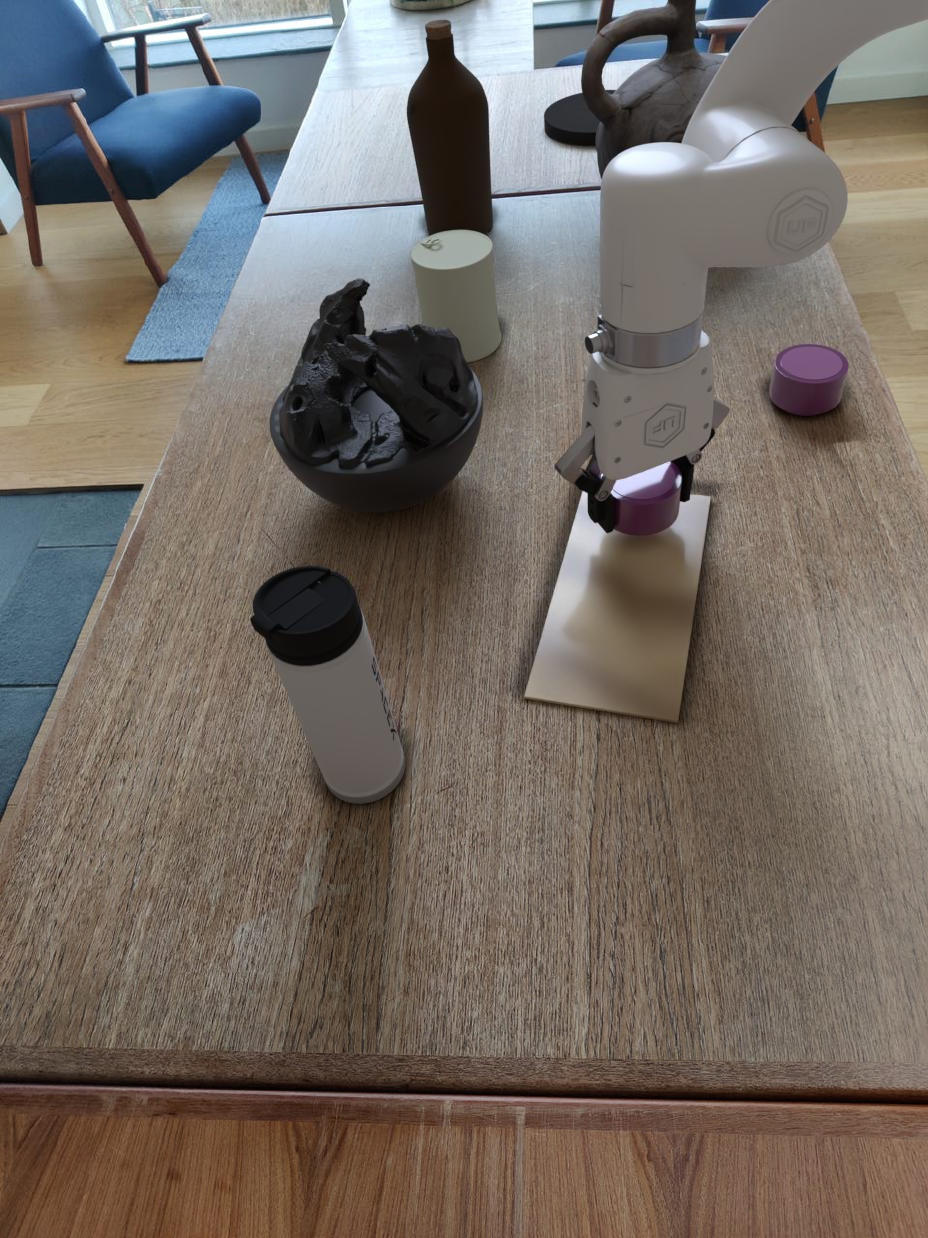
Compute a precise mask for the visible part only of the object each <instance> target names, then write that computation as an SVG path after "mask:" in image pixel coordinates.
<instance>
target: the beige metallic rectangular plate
mask: <svg viewBox="0 0 928 1238" xmlns="http://www.w3.org/2000/svg"><path fill="white" fill-rule="evenodd" d="M711 498H712V496H711V495H704V494H703V495H702V494H690V500H689V501H686V502H681V501H680V508H679V515H678V517H677V519H676V521H675V522H674V523H673V524H672V525H671V526H670V527H669V528H667V529H666V530H664V531H662V532H659V533H656V534H652V535H645V536H635V535H628V534H624V533H621V532H618V531H616V530H614V529H613V531H612V532H610V533H606V532H605V531H604V530H603V529H602V527H601V526H600V525H599V524H598V523H594V522H593V521H592V520H591V519H590V517H589V515H588V493H586V492H584V491H582V490H581V494H580V498H579V502H578V505H577V508H576V512H575V516H574V519H573V523H572V526H571V530H570V532H569V533H570V534H569V536H568V541H567V544H566V548H565V551H564V555H563V559H562V562H561V565H560V567H559V572H558V576H557V579H556V583H555V587H554V590H553V593H552V597H551V600H550V603H549V606H548V607H549V608H548V610H547V614H546V617H545V621H544V625H543V628H542V632H541V635H540V639H539V641H538V642H539V643H538V646H537V650H536V653H535V655H534V656H535V657H534V660H533V664H532V666H531V671H530V674H529V677H528V681H527V685H526V688H525V692H524V695H523V698H524V699H525V700H532V701H537V702H544V703H550V704H556V705H562V706H569V707H574V708H579V709H580V708H582V709H587V710H593V709H594V711H600V712H605V711H607V712H606V713H611V712H612V714H617V715H624V716H630V717H635V718H636V717H637V718H642V719H643V718H644V719H648V720H649V719H650V720H655V721H661V722H668V723H673V724H678V723H679V719H680V718H679V717H680V712H681V704H682V697H683V692H684V685H685V684H684V683H685V677H686V672H687V671H686V670H687V664H688V656H689V651H690V645H691V638H692V637H691V635H692V630H693V622H694V617H695V610H696V602H697V595H698V589H699V583H700V577H701V576H700V575H701V568H702V562H703V561H702V560H703V554H704V547H705V540H706V534H707V528H708V520H709V513H710V509H711V508H710V507H711V500H712V499H711Z"/></svg>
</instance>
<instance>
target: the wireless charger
mask: <svg viewBox="0 0 928 1238" xmlns="http://www.w3.org/2000/svg"><path fill="white" fill-rule="evenodd" d="M605 90H606V91H607V92H608V93H609V94H613V93H614V92H615V91H616V90H617V89H605ZM543 123H544V124H543V125H544V127H543V128H544V133H545V134H546V136H547V137H549V138H550V139H552V140H554V141H556V142H559V143H562V144H565V145H570V146H578V147H596V144H595V138H596V133H597V129H598V126H599V124H600V121H599V120H598V119H597V118H596V117H595V116H594V114H593V113H592V112H591V111H590V109H589V108H588V106H587V104H586V102H585V99H584V97H583V93H582V92H579V93H573V94H570V95H568V96H565V97H562V98H560V99H558V100H556V101H554V102H553V103H551V104H550V105H549V106H548V107H547V108H546V109H545V110H544V113H543Z"/></svg>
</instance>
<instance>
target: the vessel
mask: <svg viewBox="0 0 928 1238" xmlns="http://www.w3.org/2000/svg"><path fill="white" fill-rule="evenodd" d="M666 2H667V3H666V4H665V5H663V6H659V7H647V8H641V9H640V8H639V9H635V10H632V11H631V12H628V13H626V14H623V15H621V16H619V17H617V18H616V19H614V20H612V21H610V22H609V23H607V24H606V25H605V26H603V27H602V29H600V30H599V32H598V33H597V34H596V36H595V37H594V38H593V40H592V42H591V44H590V45H589V47H588V48H587V50H586V53H585V55H584V59H583V62H582V67H581V76H580V86H581V93H583V97H584V99H585V102H586V104H587V106H588V108H589V109H590V111H591V112H592V113H593V114H594V116H595V117H596V118H597V119H598V120H599V121H600V124H599V126H598V129H597V133H596V138H595V144H596V146H595V150H596V160H597V161H596V162H597V168H598V174H599V177H600V180H601V181H602V177H603V174H604V171H605V169H606V167H607V166H608V164H609V163H610V161H611V160H612V159H613V158H614V157H616V156H617V155H618V154H620V153H621V152H623V151H625V150H627V149H629V148H632V147H635V146H639V145H643V144H649V143H658V142H672V143H682V140H683V137H684V134H685V132H686V129H687V126H688V124H689V122H690V119H691V117H692V115H693V114H694V112H695V110H696V108H697V106H698V104H699V102H700V100H701V98H702V97H703V95H704V93H705V91H706V90H707V88H708V86H709V85H710V83H711V81H712V80H713V78H714V76H715V75H716V73H717V71H718V70H719V68H720V66H721V65H722V63H723V61H724V60H725V58H726V56H727V55H725V54H720V53H710V52H699V51H698V50H697V47H696V45H695V25H696V24H695V23H696V7H697V0H667V1H666ZM647 36H666V48H665V51H664V53H663V55H662V56H661V57H659V58H657V59H654V60H652V61H650V62H647V63H646V64H645V65H643V66H641V67H640V68H638V69H637V70H636V71H634V72H633V73H632V74H631V75H629V76H628V77H627V78H626V79H625V80H624V81H623V82H622V84H620V85H619V86H618V87H617V89H615V90H616V91H615V92H614V93H613V94H609V93H608V92H607V91H606V90H607V89H606V88H605V86H604V84H603V71H604V69H605V68H604V67H606V63H607V61H608V59H609V58H610V57H611V54H612V53H613V52H614V51H615V49H616V48H618V47H619V46H620V45H621V44H624V43H625V42H628V41H630V40H633V39H637V38H641V37H647Z"/></svg>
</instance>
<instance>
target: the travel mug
mask: <svg viewBox="0 0 928 1238" xmlns="http://www.w3.org/2000/svg"><path fill="white" fill-rule="evenodd" d="M252 612H253V615H252V616H251V617H250V619H249V622H250V624H251V626H252V629H253V630H254V631H255V632H256V633H257V634H259V635H260V636H261V637H263V638H264V641H265V645H266V648H267V651H268V652H269V655H270V657H271V660H272V662H273V664H274V666H275V669H276V671H277V674H278V675H279V678H280V680H281V683H282V685H283V687H284V690H285V691H286V694H287V697H288V699H289V701H290V704H291V706H292V709H293V710H294V713H295V715H296V717H297V719H298V722H299V724H300V726H301V727H300V728H301V729H302V731H303V734H304V736H305V739H306V741H307V742H308V745H309V747H310V749H311V752H312V753H313V757H314V759H315V761H316V764H317V766H318V768H319V770H320V773H321V774H322V777H323V779H324V782H325V785H326V786H327V788H328V790H329V792H331V793H332V794H333V796H335V797H336V798H337V799H339V800H341V801H343V802H346V803H350V804H355V805H357V804H358V805H359V804H362V805H363V804H369V803H372V802H376V801H379V800H381V799H382V798H384V797H386V796H388V795H389V794H390V793H392V792H393V791H394V790H395V789H396V787H397V786H398V785H399V784H400V782H401V781H402V779H403V776H404V773H405V770H406V756H405V753H404V750H403V746H402V742H401V739H400V736H399V731H398V729H397V726H396V722H395V718H394V716H393V712H392V709H391V705H390V702H389V697H388V695H387V691H386V688H385V685H384V681H383V677H382V673H381V671H380V668H379V664H378V660H377V657H376V654H375V650H374V647H373V643H372V639H371V637H370V632H369V629H368V626H367V623H366V620H365V616H364V613H363V610H362V607H361V606H360V602H359V599H358V594H357V592H356V589H355V588H354V585H352V583H351V581H350V580H349V578H347V577H346V576H345V575H343V574H341V573H340V572H338V571H332V570H331V568H328V567H325V566H321V565H301V566H296V567H291V568H288V569H285V570H283V571H280V572H279V573H277V574H274V575H273V576H271V577H270V578H268V579H267V580H266V581H264V582H263V584H262V585H261V586H259V588H258V589H257V591H256V593H255V594H254V597H253V599H252Z"/></svg>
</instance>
